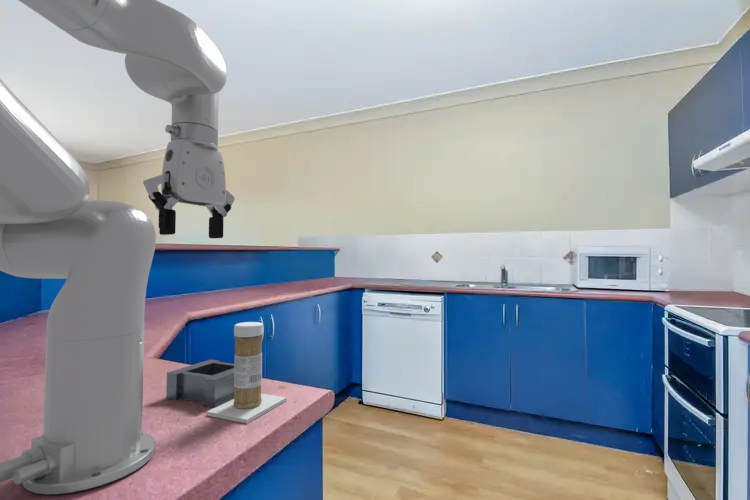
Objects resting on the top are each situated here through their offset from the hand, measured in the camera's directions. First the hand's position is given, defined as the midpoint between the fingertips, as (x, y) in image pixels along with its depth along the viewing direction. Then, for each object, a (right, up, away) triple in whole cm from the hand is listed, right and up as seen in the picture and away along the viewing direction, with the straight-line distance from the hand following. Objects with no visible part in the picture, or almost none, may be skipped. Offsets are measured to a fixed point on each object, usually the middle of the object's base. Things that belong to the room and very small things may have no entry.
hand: (193, 236), depth 66 cm
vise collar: (+2, -29, +3) cm, 29 cm away
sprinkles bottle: (+11, -28, -4) cm, 31 cm away
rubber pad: (+11, -29, -4) cm, 31 cm away
